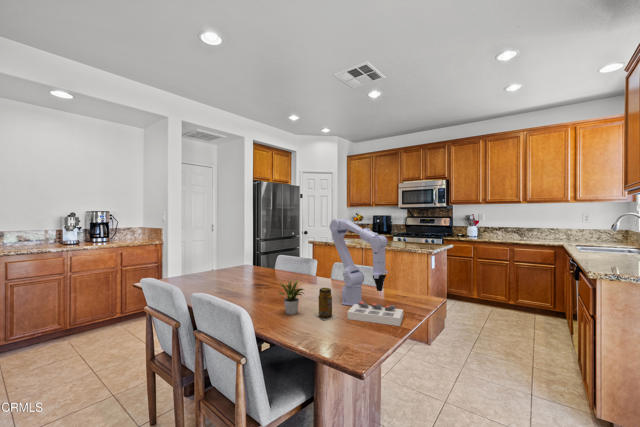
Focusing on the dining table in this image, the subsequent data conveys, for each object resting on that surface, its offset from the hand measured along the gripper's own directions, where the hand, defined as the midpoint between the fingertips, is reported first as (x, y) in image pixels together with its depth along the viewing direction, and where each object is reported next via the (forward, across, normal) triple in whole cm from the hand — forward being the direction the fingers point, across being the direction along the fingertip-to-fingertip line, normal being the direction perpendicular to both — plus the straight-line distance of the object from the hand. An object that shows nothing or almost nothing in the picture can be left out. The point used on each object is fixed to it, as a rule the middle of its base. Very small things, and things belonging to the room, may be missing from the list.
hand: (379, 290), depth 134 cm
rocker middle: (+5, -7, 0) cm, 9 cm away
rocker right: (+5, -7, -6) cm, 11 cm away
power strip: (+9, -7, 0) cm, 12 cm away
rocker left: (+5, -7, +6) cm, 11 cm away
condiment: (+10, -15, +21) cm, 28 cm away
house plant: (+10, -18, +38) cm, 43 cm away
